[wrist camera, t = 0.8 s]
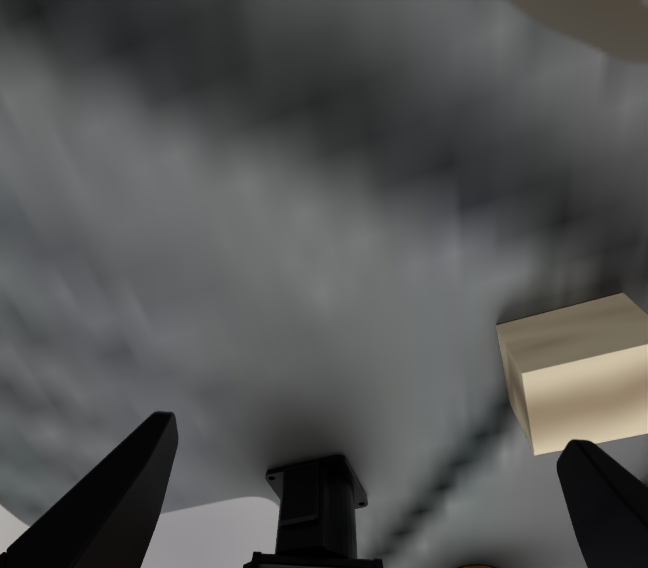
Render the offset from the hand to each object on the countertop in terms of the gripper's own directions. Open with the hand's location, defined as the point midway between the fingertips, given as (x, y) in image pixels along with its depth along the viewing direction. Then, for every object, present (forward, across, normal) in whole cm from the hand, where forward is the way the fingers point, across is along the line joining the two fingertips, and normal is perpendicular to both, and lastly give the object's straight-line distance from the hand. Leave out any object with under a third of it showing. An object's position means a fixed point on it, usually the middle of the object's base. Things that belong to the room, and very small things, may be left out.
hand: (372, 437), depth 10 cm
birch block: (+14, -14, +8) cm, 21 cm away
